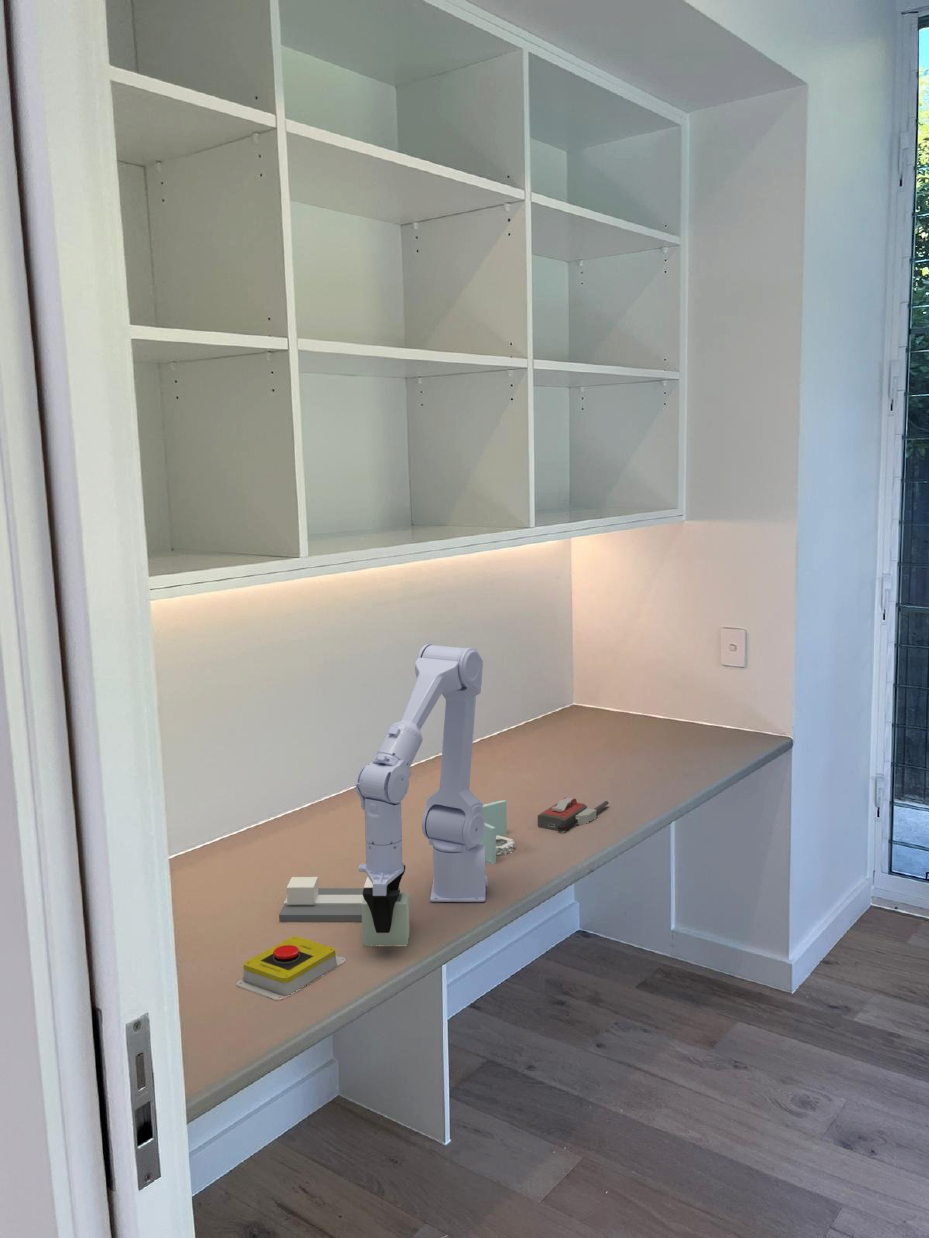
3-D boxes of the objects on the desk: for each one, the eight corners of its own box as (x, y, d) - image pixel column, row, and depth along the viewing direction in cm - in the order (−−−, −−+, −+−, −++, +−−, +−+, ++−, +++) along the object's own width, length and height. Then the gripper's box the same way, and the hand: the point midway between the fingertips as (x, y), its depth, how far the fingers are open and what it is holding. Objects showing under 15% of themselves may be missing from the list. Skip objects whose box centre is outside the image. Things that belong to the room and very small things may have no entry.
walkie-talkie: (571, 837, 213) (611, 809, 230) (571, 816, 212) (612, 789, 229) (532, 830, 218) (575, 802, 234) (532, 809, 217) (575, 783, 234)
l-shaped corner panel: (492, 866, 199) (491, 828, 198) (455, 848, 209) (454, 811, 207) (541, 852, 206) (541, 815, 205) (503, 835, 215) (503, 799, 214)
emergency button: (231, 959, 154) (302, 922, 166) (233, 988, 154) (303, 948, 167) (278, 976, 148) (347, 935, 161) (279, 1005, 149) (348, 963, 161)
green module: (409, 933, 170) (408, 891, 169) (407, 946, 166) (406, 903, 165) (366, 933, 170) (365, 891, 169) (362, 946, 166) (361, 903, 165)
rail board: (400, 894, 185) (399, 869, 185) (393, 921, 174) (393, 895, 174) (292, 894, 186) (291, 869, 185) (279, 921, 175) (278, 895, 174)
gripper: (364, 823, 173) (366, 902, 175) (351, 855, 159) (354, 941, 160) (407, 823, 173) (408, 902, 175) (398, 855, 158) (400, 941, 160)
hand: (385, 921), depth 167 cm, fingers open, 7 cm apart
